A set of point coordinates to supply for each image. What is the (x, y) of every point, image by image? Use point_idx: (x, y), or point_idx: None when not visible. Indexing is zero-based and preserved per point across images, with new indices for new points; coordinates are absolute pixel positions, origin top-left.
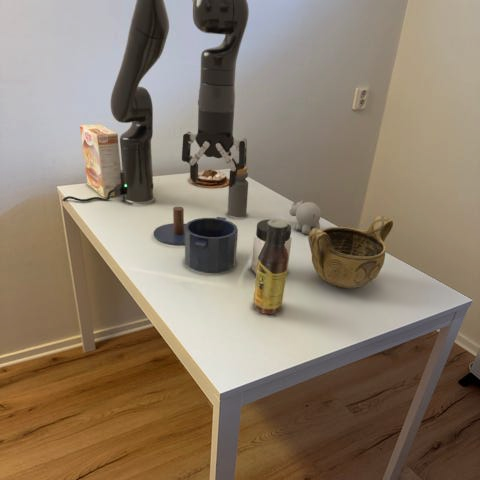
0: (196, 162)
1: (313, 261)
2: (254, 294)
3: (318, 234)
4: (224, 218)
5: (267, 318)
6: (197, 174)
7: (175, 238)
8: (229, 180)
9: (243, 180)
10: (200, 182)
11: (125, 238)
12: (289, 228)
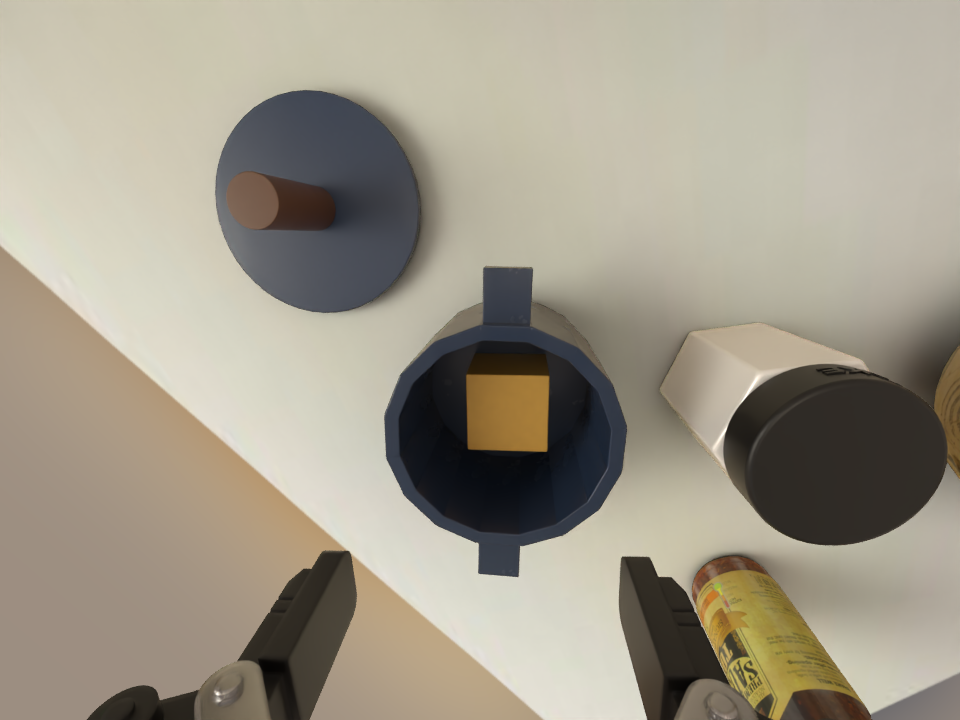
0: (274, 716)
1: (955, 454)
2: (706, 631)
3: None
4: (525, 277)
5: None
6: (332, 595)
7: (327, 269)
8: (634, 662)
9: None
10: None
11: (163, 298)
12: (936, 478)
